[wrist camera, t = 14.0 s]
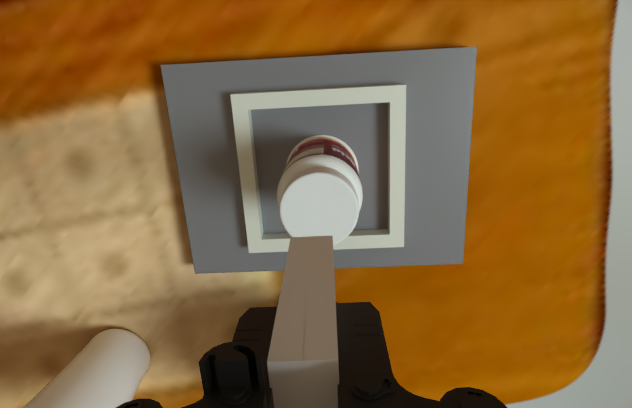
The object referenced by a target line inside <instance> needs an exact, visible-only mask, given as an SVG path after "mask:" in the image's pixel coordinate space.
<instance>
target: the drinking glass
mask: <svg viewBox="0 0 632 408" xmlns="http://www.w3.org/2000/svg"><path fill="white" fill-rule="evenodd" d="M149 366H150V352H149V349H148V347H147V345H146V344H145V342H144V341H143V340H142V339H141V338H140V337H139V336H137V335H136V334H134V333H132V332H130V331H127V330H123V329H108V330H105V331H102V332H100V333H98V334H97V335H95V336H94V337H93V338H92V339H91V340H90V341H89V342H88V344H87V345H86V346H85V347H84V348H83V349H82V351H81V352H80V353H79V354H78V355H77V356H76V357H75V358H74V359H73V360H72V361H71V362H70V363H69V364H68V365H67V366H66V367H64V368H63V369H62V370H61V371H60V372H59V373H58V374H57V375H56V376H55V377H54V378H53V379H52V380H51V381H50V382H49V383H48V384H47V385H46V386H45V387H44V388H43V389H42V390H41V391H40V392H39V393H38V394H37V395H36V396H35V397H34V398H33V399H32V400H31V401H29V402H28V403H27V404H26V405H25V406H24V407H23V408H116V407H118V406H120V405H121V404H123V403H125V402H129V401H132V400H133V398H134V396H135V393H136V391H137V389H138V387H139V385H140V383H141V381H142V379H143V378H144V376H145V374H146V372H147V371H148V368H149Z"/></svg>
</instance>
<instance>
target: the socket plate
mask: <svg viewBox="0 0 632 408" xmlns="http://www.w3.org/2000/svg"><path fill="white" fill-rule="evenodd" d="M476 52H477V47H460V48H443V49H426V50H409V51H392V52H375V53H358V54H341V55H324V56H307V57H290V58H273V59H256V60H239V61H222V62H204V63H187V64H170V65H161V71H162V77H163V83H164V89H165V95H166V101H167V107H168V113H169V119H170V125H171V131H172V137H173V143H174V149H175V156H176V162H177V168H178V174H179V180H180V186H181V192H182V198H183V204H184V210H185V216H186V222H187V228H188V234H189V240H190V246H191V252H192V258H193V264H194V270H195V274H199V273H226V272H252V271H279V270H285V265H286V259H287V254H288V249H289V244H290V238H291V236H290V235H289V234H288V232H287V231H286V230H285V228H284V226H283V224H282V222H281V218H280V212H279V206H278V202H277V188H278V184H279V181H280V179H281V176H282V174H283V172H284V170H285V168H286V165H287V163H288V160H289V158H290V156H291V154H292V153H293V151H294V150H295V149H296V148H297V147H298V146H299V145H300V144H302V143H303V142H305V141H307V140H310V139H313V138H320V137H325V138H330V139H334V140H336V141H338V142H340V143H342V144H343V145H344V146H345V147H346V148H347V149H348V150H349V151H350V152H351V154H352V156H353V158H354V160H355V163H356V167H357V170H358V174H359V177H360V181H361V185H362V191H363V200H362V205H361V209H360V211H359V216H358V220H357V223H356V225H355V227H354V229H353V231H352V232H351V233H350V234H349V236H348V237H346V238H345V239H344V240H343V241H341V242H339V243H337V244H335V245H333V256H334V268H360V267H386V266H413V265H440V264H463V255H464V239H465V224H466V208H467V192H468V177H469V161H470V145H471V130H472V114H473V99H474V83H475V67H476Z"/></svg>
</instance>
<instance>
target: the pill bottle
mask: <svg viewBox="0 0 632 408" xmlns="http://www.w3.org/2000/svg"><path fill="white" fill-rule="evenodd" d="M362 200H363V191H362V185H361V181H360V177H359V174H358V170H357V167H356V163H355V160H354V158H353V156H352V154H351V152H350V151H349V150H348V149H347V148H346V147H345V146H344V145H343V144H342V143H340V142H338V141H336V140H334V139H330V138H325V137H320V138H313V139H310V140H307V141H305V142H303V143H302V144H300V145H299V146H298V147H297V148H296V149H295V150H294V151H293V153H292V154H291V156H290V158H289V160H288V163H287V165H286V168H285V170H284V172H283V174H282V176H281V179H280V181H279V184H278V188H277V202H278V206H279V212H280V218H281V222H282V224H283V226H284V228H285V230H286V231H287V232H288V234H289V235H290V236H291V237H309V236H332V235H333V245H335V244H337V243H339V242H341V241H343V240H344V239H345V238H346V237H348V236H349V234H350V233H351V232H352V231H353V229H354V227H355V225H356V223H357V220H358V216H359V211H360V209H361V205H362Z"/></svg>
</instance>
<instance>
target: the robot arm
mask: <svg viewBox="0 0 632 408" xmlns="http://www.w3.org/2000/svg"><path fill="white" fill-rule="evenodd" d="M199 367H200V373H201V378H202V384H203V390H204V396H203V399H201V400H199V401H197V402H196V403H193V404H191V405H188V406H185V407H182V408H507V407H506V406H505V405H504V404H503V403H502V402H501V401H500V400H498V399H497V398H496V397H495V396H493V395H491V394H489V393H487V392H485V391H483V390H480V389H475V388H470V387H464V388H455V389H453V390H451V391H448V392H446V393H445V395H444V396H443V397H442V398H441V399H440V401H436V400H431V399H427V398H423V397H420V396H417V395H414V394H412V393H410V392H408V391H407V390H405V389H404V388H403V387H402V386H400V385H399V384H398V382H397V381H396V379H395V378H394V376H393V373H392V369H391V365H390V360H389V355H388V351H387V346H386V341H385V337H384V332H383V328H382V323H381V318H380V314H379V311H378V310H377V309H376V308H375V307H374V306H373V305H372V304H371V303H370V302H357V303H336V299H335V277H334V256H333V235H332V236H309V237H291V238H290V244H289V249H288V254H287V259H286V265H285V270H284V275H283V280H282V286H281V291H280V296H279V301H278V307H257V308H249V309H248V310H247V311H246V312H245V313H244V314H243V315H242V316H241V317H240V318H239V322H238V325H237V328H236V332H235V334H234V337H233V341H232V342H228V343H223V344H221V345H218V346H216V347H213V348H212V349H211V350H209V351H208V352H207V353H205V354H204V355H203V357H202V358H201V360H200V361H199ZM116 408H163V407H162V406H161V405H160V403H159V402H157V401H154V400H152V399H136V400H132V401H129V402H125V403H123V404H121V405H120V406H118V407H116Z"/></svg>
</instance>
